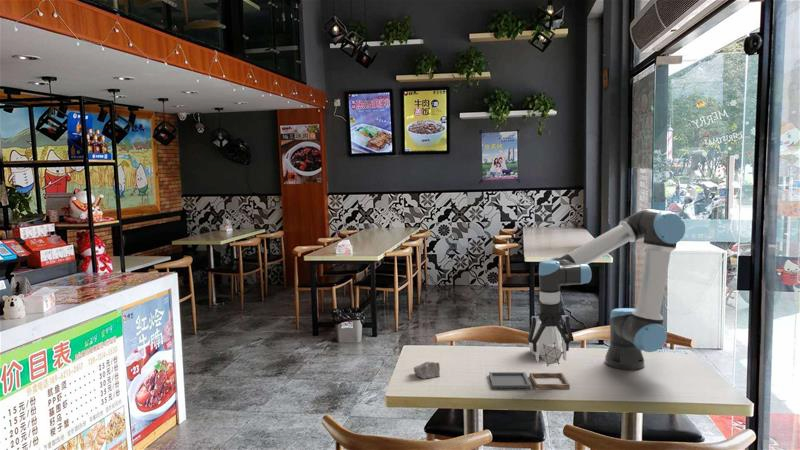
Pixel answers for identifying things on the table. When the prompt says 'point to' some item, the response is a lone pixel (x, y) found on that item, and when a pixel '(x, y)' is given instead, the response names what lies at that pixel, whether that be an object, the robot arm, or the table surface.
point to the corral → (549, 386)
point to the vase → (546, 337)
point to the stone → (427, 370)
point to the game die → (551, 354)
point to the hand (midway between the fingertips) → (550, 359)
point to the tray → (509, 380)
